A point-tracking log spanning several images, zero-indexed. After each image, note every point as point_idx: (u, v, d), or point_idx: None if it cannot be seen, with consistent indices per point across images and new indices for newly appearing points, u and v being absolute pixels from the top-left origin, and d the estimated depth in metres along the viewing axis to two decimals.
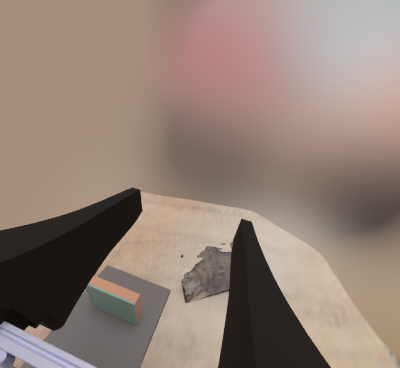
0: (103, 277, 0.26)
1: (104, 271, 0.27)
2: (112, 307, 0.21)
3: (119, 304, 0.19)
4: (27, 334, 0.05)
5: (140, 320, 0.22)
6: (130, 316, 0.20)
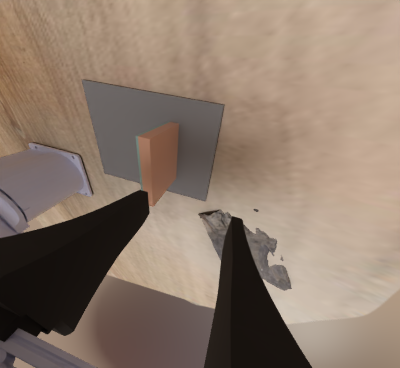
0: (203, 111, 0.16)
1: (212, 107, 0.15)
2: None
3: None
4: (27, 334, 0.05)
5: None
6: None
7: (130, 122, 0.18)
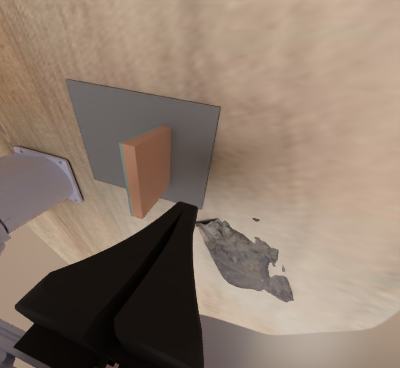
0: (197, 114, 0.14)
1: (207, 109, 0.14)
2: None
3: None
4: (27, 334, 0.05)
5: None
6: None
7: (119, 125, 0.17)
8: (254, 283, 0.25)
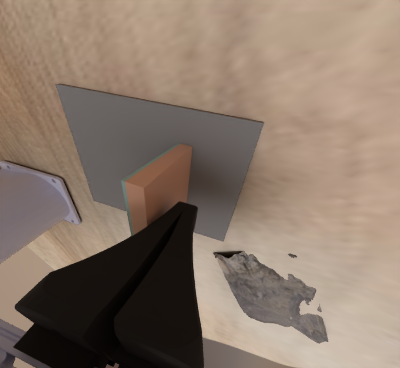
0: (230, 131, 0.11)
1: (245, 125, 0.10)
2: None
3: None
4: (27, 334, 0.05)
5: None
6: None
7: (124, 142, 0.13)
8: (280, 320, 0.22)
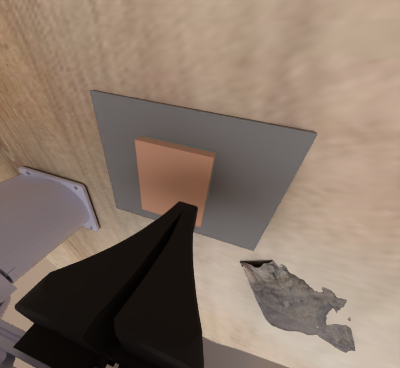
0: (278, 141, 0.10)
1: (296, 135, 0.10)
2: None
3: None
4: (27, 334, 0.05)
5: (210, 221, 0.15)
6: None
7: None
8: (305, 329, 0.21)
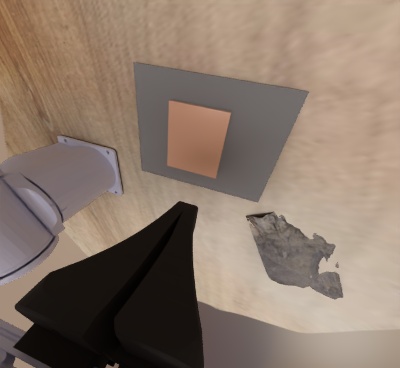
0: (280, 99, 0.14)
1: (293, 94, 0.13)
2: None
3: None
4: (27, 334, 0.05)
5: (223, 176, 0.19)
6: None
7: None
8: (300, 280, 0.25)
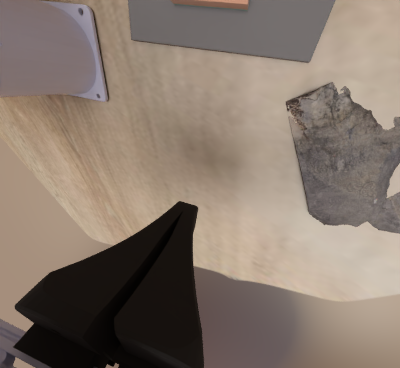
0: None
1: None
2: None
3: None
4: (27, 334, 0.05)
5: (256, 15, 0.12)
6: None
7: None
8: (357, 210, 0.18)
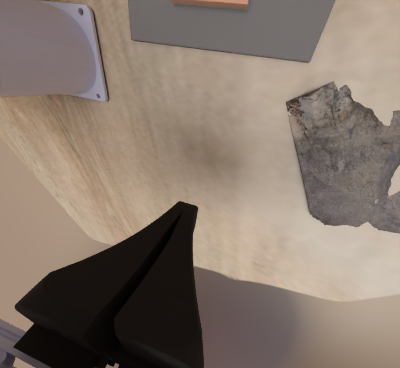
0: None
1: None
2: None
3: None
4: (27, 334, 0.05)
5: (256, 15, 0.12)
6: None
7: None
8: (358, 210, 0.17)
